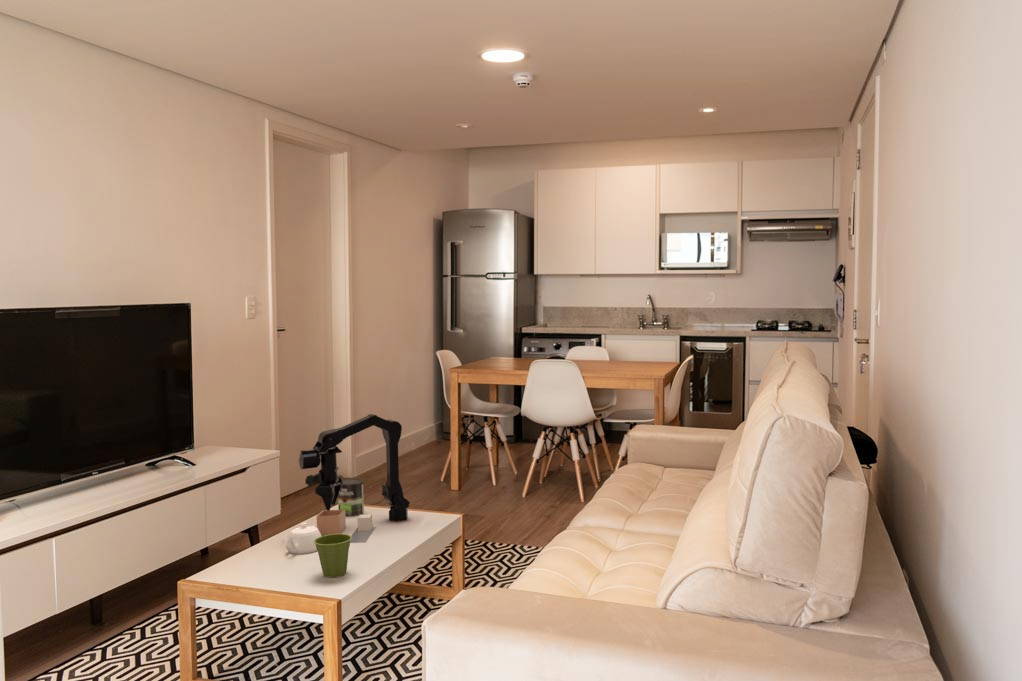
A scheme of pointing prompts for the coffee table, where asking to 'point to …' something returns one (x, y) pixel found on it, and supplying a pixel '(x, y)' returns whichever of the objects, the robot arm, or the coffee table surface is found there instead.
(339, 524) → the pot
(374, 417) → the robot arm
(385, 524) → the coffee table surface
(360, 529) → the block
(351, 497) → the coffee can
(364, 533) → the slate board
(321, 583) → the coffee table surface
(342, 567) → the plant pot
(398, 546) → the coffee table surface
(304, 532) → the teapot
